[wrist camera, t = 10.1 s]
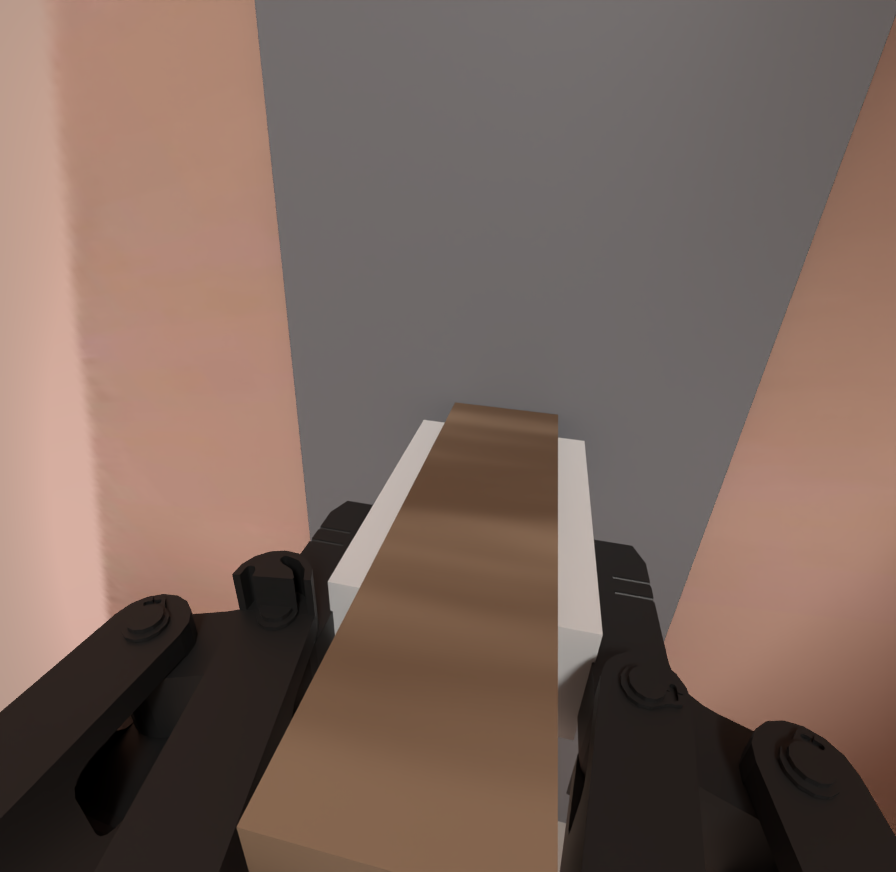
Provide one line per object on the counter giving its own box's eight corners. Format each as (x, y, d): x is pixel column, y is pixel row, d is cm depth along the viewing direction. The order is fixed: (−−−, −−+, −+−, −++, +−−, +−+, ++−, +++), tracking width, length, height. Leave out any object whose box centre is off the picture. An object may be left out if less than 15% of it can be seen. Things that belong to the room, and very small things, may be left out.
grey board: (221, -432, 8) (72, -710, 6) (1098, -573, 6) (1465, -1091, 4) (338, 777, 26) (314, 843, 23) (585, 841, 24) (589, 921, 21)
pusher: (343, 389, 15) (-63, 741, 5) (687, 430, 13) (1042, 1056, 4) (356, 612, 19) (145, 1040, 9) (618, 664, 17) (695, 1247, 8)
